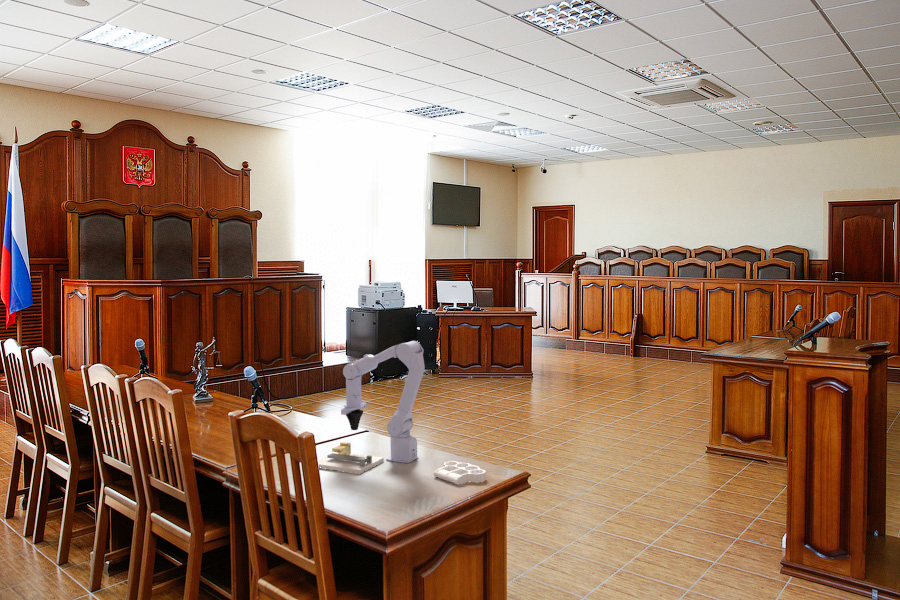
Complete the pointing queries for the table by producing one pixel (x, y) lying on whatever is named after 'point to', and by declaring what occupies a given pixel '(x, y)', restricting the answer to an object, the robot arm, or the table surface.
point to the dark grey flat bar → (347, 457)
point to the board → (350, 464)
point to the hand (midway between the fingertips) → (354, 429)
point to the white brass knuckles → (460, 472)
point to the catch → (343, 448)
